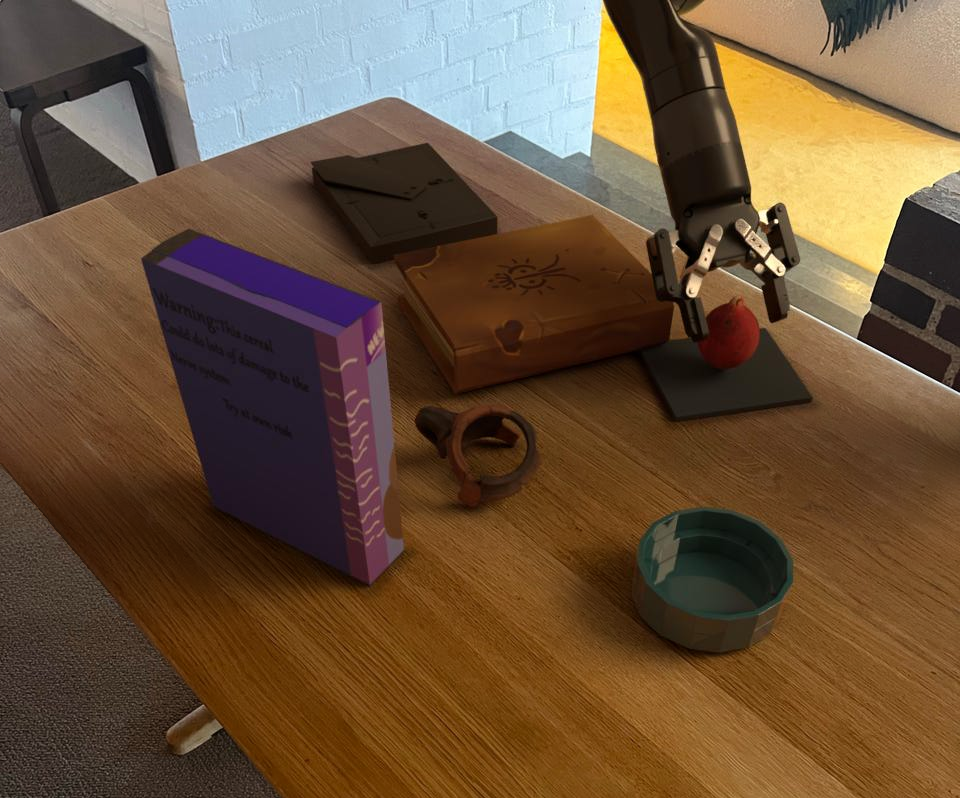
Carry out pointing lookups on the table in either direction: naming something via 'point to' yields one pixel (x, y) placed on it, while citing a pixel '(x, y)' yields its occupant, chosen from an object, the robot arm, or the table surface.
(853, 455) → the table surface
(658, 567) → the bowl
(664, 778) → the table surface
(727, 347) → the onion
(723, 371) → the mat
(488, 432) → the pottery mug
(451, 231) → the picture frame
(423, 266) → the diary
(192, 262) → the purple book
